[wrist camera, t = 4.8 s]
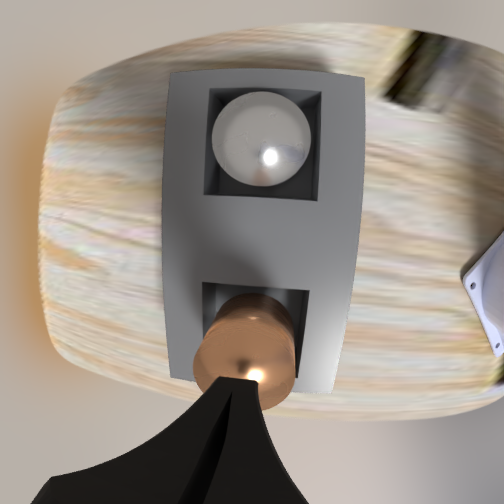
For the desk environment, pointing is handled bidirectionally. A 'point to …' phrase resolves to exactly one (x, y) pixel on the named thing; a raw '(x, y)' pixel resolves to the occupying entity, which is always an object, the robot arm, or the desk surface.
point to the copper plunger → (250, 347)
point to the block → (263, 217)
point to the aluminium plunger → (261, 139)
